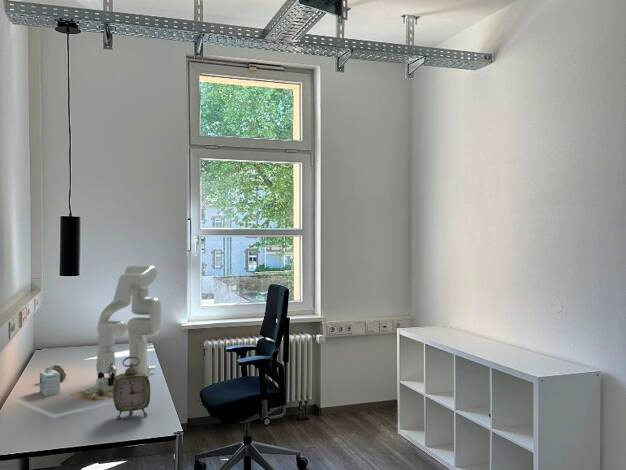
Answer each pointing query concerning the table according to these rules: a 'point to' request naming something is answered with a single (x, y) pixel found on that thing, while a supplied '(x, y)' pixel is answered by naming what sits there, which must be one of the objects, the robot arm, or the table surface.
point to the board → (89, 396)
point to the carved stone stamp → (59, 370)
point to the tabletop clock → (131, 390)
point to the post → (100, 388)
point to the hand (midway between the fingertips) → (106, 384)
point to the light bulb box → (49, 382)
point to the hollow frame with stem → (96, 388)
